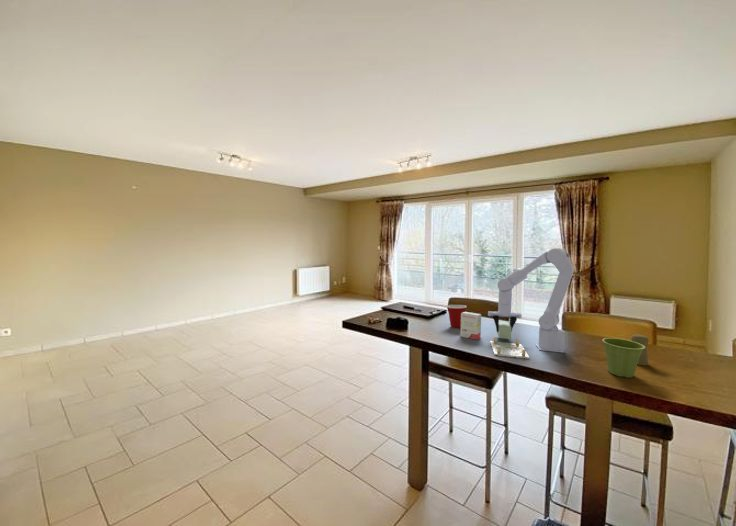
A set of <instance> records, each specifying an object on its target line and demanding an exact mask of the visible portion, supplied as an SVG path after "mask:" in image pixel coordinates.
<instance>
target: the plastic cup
mask: <svg viewBox="0 0 736 526" xmlns="http://www.w3.org/2000/svg"><path fill="white" fill-rule="evenodd" d="M446 307H447V308H446V309H447V311H448V318H449V323H450V327H451V328H452V329H461V313H463V312H466V310H467V305H466V304H465V305H464V304H449V305H446Z"/></svg>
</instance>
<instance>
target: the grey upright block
mask: <svg viewBox="0 0 736 526" xmlns="http://www.w3.org/2000/svg"><path fill="white" fill-rule="evenodd" d="M630 339H631V340H630V341H633V342H637V343H640V344H642V345H644V346H645V349H643V351H642V354H641V355H640V357H639V361H638V365H637V366H641V365H648V366H649V359H648V348H647V345H648V343H649V341H650V340H649V337H648V336H646V335H644V334H643V335H642V334H632V335H631V337H630Z"/></svg>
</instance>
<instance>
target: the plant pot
mask: <svg viewBox="0 0 736 526" xmlns="http://www.w3.org/2000/svg"><path fill="white" fill-rule="evenodd" d="M601 340H602V341H601V342H603V345H604V350H605V356H606V357H605V358H606V365H607V371H608V372H609V373H610V374H611V375H615V376H616V377H625V378H626V379H627V378H628V379H629V378H633V377H634V376H635V373H636V369H637V367H638V365H637V364H638V361H639V357H640V355H641V354H642V351H643V349H645V346H644V345H642V344H640V343H637V342H633V341H631V340H629V339H623V338H617V337H605V338H602V339H601Z"/></svg>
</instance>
